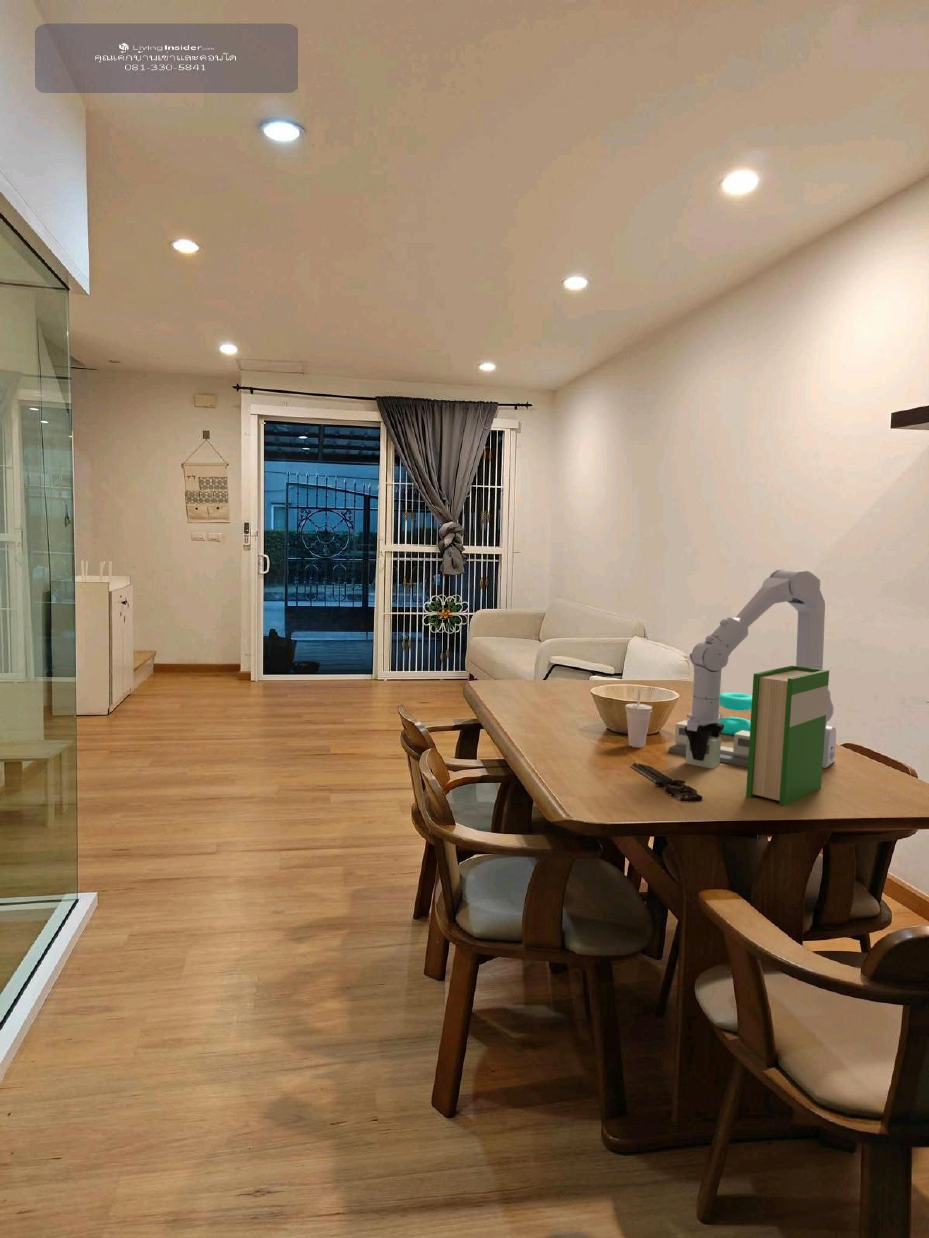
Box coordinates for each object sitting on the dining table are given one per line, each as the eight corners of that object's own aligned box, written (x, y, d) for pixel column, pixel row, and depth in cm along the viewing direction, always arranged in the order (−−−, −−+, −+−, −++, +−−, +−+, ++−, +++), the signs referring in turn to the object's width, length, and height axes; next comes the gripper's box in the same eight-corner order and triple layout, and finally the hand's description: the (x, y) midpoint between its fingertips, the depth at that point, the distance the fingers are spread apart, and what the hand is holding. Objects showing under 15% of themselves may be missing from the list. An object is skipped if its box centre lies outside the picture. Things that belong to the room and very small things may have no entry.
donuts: (765, 696, 198) (741, 700, 192) (763, 734, 199) (738, 738, 193) (733, 690, 206) (709, 693, 201) (731, 726, 207) (706, 730, 202)
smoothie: (620, 746, 182) (622, 688, 180) (627, 740, 187) (630, 684, 186) (646, 750, 179) (649, 691, 178) (653, 744, 184) (656, 687, 183)
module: (719, 764, 168) (721, 737, 168) (711, 768, 165) (713, 741, 164) (693, 759, 172) (695, 733, 172) (685, 763, 169) (686, 736, 168)
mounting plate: (771, 759, 174) (773, 732, 174) (754, 768, 166) (756, 740, 165) (688, 743, 187) (689, 718, 186) (668, 751, 178) (670, 725, 178)
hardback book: (784, 806, 141) (792, 679, 139) (745, 796, 146) (753, 673, 144) (820, 787, 153) (829, 670, 151) (784, 779, 159) (791, 665, 156)
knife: (626, 766, 167) (627, 760, 167) (654, 765, 168) (655, 759, 168) (673, 804, 142) (674, 796, 142) (706, 803, 143) (706, 796, 143)
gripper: (701, 690, 175) (698, 748, 177) (675, 698, 164) (671, 760, 165) (732, 694, 171) (728, 753, 172) (706, 703, 160) (703, 766, 161)
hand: (702, 757), depth 168 cm, fingers closed on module, 5 cm apart
